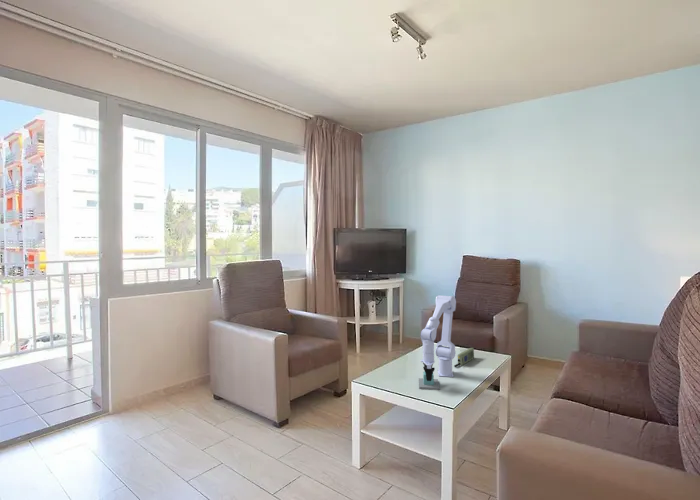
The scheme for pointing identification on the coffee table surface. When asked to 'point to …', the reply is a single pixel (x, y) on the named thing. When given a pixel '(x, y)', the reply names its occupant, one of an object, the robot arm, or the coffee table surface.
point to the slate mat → (433, 387)
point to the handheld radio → (465, 356)
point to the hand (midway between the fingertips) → (428, 378)
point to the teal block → (428, 381)
